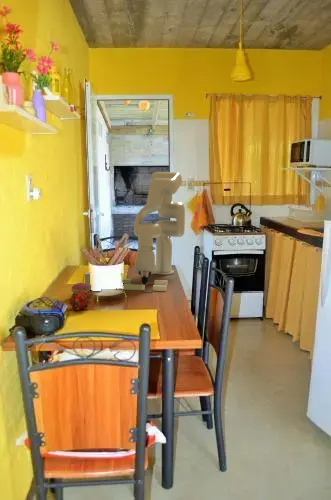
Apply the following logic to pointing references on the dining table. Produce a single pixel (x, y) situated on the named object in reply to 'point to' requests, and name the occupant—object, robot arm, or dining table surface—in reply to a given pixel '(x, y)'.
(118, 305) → the dining table surface
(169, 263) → the robot arm
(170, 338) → the dining table surface
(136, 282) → the walnut block
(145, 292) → the pads
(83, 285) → the cupcake
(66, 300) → the dining table surface
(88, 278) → the medicine box
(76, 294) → the dragon fruit
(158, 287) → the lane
